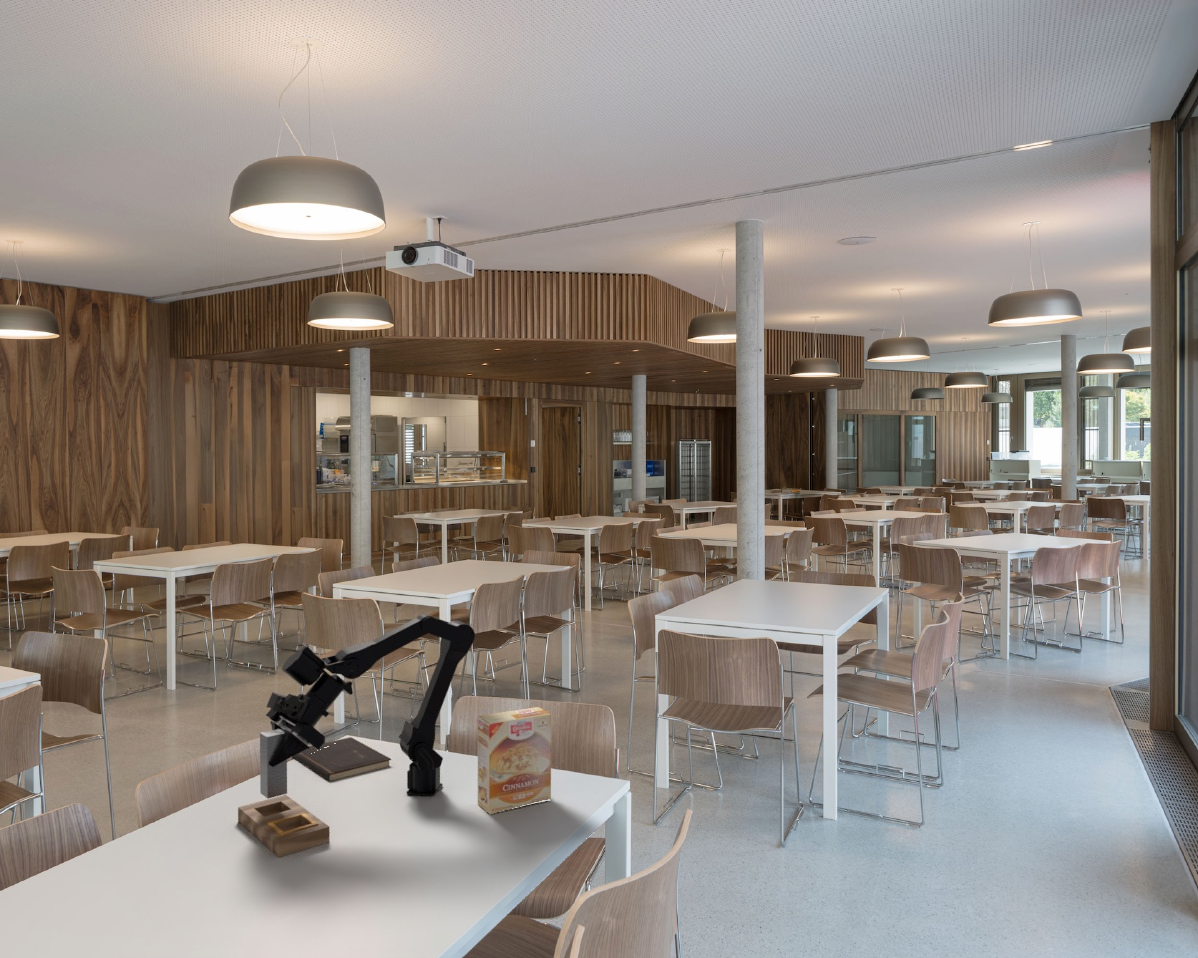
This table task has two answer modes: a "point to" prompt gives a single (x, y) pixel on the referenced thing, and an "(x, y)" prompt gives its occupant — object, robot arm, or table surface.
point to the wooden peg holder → (283, 825)
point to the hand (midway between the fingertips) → (266, 762)
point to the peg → (271, 777)
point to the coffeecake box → (514, 759)
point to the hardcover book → (342, 759)
